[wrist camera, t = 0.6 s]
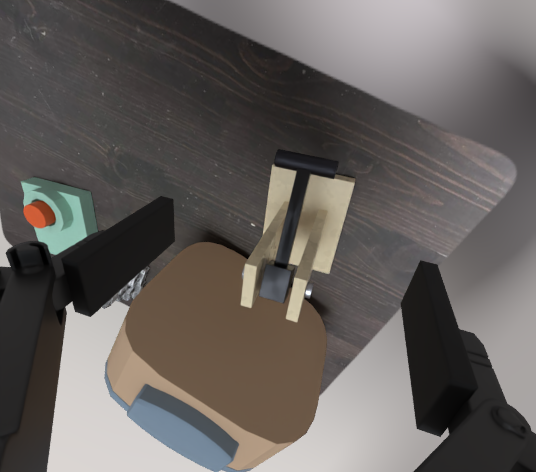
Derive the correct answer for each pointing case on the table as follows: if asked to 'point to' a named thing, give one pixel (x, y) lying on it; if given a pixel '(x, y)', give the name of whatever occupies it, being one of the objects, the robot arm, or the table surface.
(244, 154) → the table surface
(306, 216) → the hinged lever switch
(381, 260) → the table surface
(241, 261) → the alarm clock
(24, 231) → the table surface
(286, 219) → the lever
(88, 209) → the button box
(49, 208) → the button
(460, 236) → the table surface
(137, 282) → the house of cards
